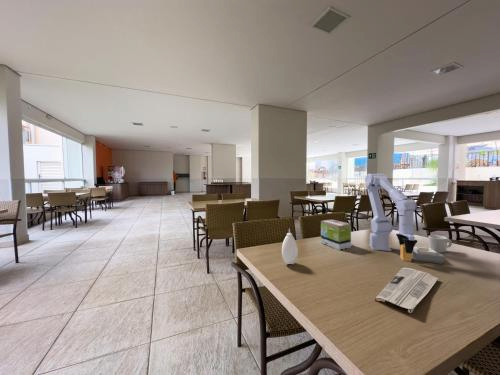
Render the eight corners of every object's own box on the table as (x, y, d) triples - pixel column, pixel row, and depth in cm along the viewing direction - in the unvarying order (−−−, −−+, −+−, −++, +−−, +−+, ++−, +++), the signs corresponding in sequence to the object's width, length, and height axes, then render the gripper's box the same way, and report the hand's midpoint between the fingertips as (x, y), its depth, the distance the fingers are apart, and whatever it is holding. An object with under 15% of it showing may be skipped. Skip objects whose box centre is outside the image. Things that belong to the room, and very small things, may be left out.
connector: (402, 260, 104) (403, 245, 103) (400, 257, 107) (400, 243, 107) (411, 261, 103) (411, 245, 102) (408, 258, 106) (408, 243, 105)
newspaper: (401, 271, 94) (401, 263, 93) (438, 281, 84) (439, 272, 84) (373, 303, 70) (373, 293, 70) (419, 322, 61) (420, 311, 61)
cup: (445, 248, 118) (445, 234, 118) (457, 254, 110) (457, 239, 110) (424, 248, 119) (424, 234, 119) (435, 253, 111) (435, 239, 111)
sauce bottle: (298, 268, 98) (297, 230, 97) (281, 267, 100) (280, 230, 99) (297, 261, 106) (297, 226, 105) (282, 260, 107) (281, 226, 106)
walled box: (416, 261, 103) (416, 252, 102) (407, 253, 113) (407, 245, 113) (443, 263, 99) (444, 254, 99) (432, 255, 109) (432, 246, 109)
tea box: (320, 243, 133) (320, 220, 132) (331, 241, 137) (331, 218, 137) (339, 250, 119) (339, 225, 119) (351, 247, 124) (351, 223, 123)
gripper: (422, 227, 96) (422, 256, 96) (409, 221, 109) (409, 246, 110) (404, 226, 98) (404, 255, 99) (394, 220, 112) (394, 245, 112)
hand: (405, 250), depth 104 cm, fingers open, 7 cm apart
